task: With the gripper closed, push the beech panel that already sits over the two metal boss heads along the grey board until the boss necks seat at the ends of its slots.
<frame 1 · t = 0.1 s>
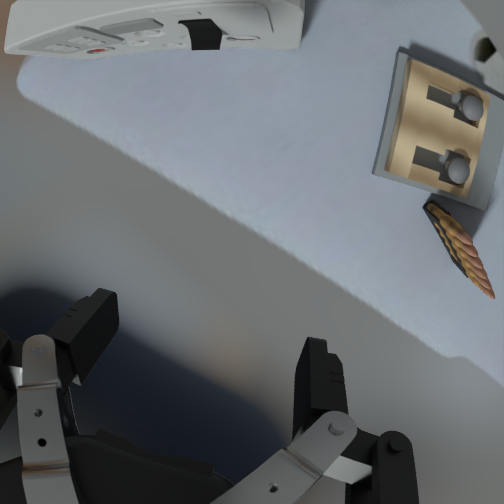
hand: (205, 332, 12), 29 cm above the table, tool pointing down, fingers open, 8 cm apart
beech panel: (441, 129, 31), point 2 cm above the table, slide at 0.0 cm
ammunition clip: (443, 231, 38), on the table
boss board: (447, 134, 33), on the table
rounded white slab: (184, 31, 32), on the table
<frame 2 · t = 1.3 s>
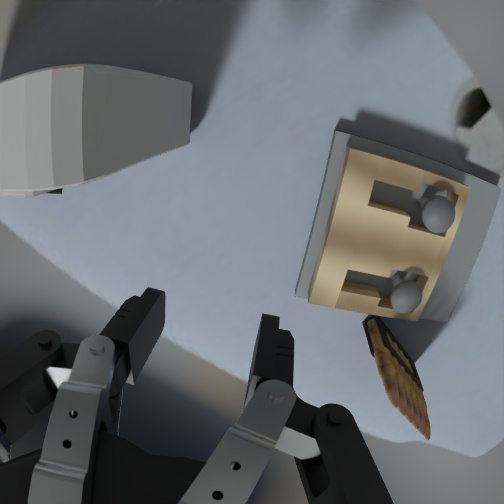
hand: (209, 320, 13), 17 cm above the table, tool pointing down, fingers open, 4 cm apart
beech panel: (389, 242, 26), point 3 cm above the table, slide at 0.0 cm
ammunition clip: (390, 343, 34), on the table
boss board: (402, 236, 28), on the table
rounded white slab: (72, 119, 27), on the table
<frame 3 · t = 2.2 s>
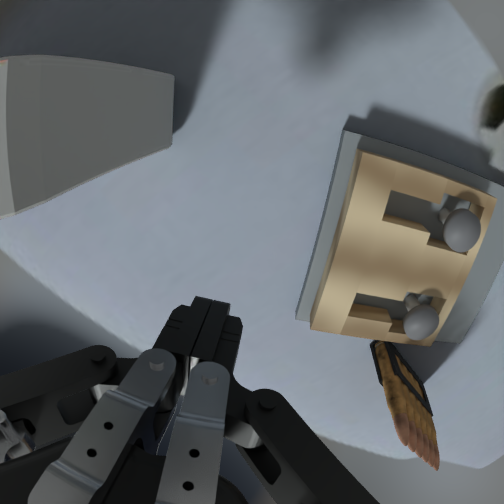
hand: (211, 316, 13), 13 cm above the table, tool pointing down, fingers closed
beech panel: (404, 260, 22), point 2 cm above the table, slide at 0.0 cm
ammunition clip: (398, 365, 30), on the table
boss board: (418, 252, 24), on the table
rounded white slab: (46, 120, 23), on the table
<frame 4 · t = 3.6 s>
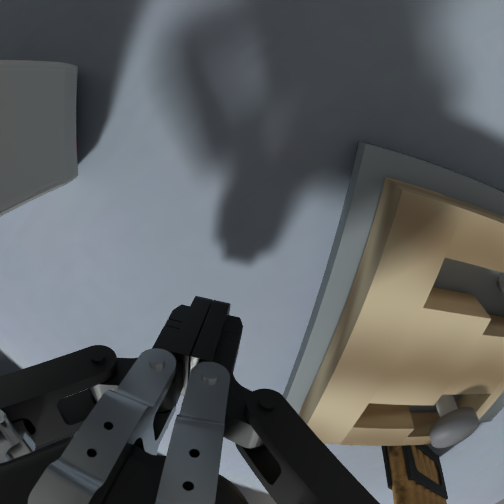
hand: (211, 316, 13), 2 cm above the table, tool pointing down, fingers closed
beech panel: (444, 352, 13), point 2 cm above the table, slide at 0.0 cm
ammunition clip: (413, 444, 21), on the table
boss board: (459, 327, 15), on the table
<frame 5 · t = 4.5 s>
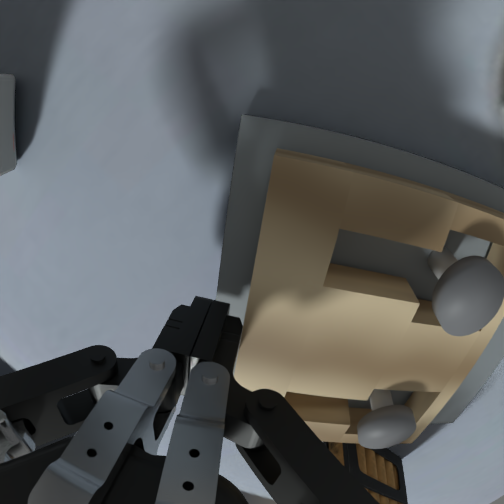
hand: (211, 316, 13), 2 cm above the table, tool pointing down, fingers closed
beech panel: (372, 341, 13), point 2 cm above the table, slide at 0.5 cm, touching gripper
ammunition clip: (367, 443, 21), on the table
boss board: (393, 314, 15), on the table
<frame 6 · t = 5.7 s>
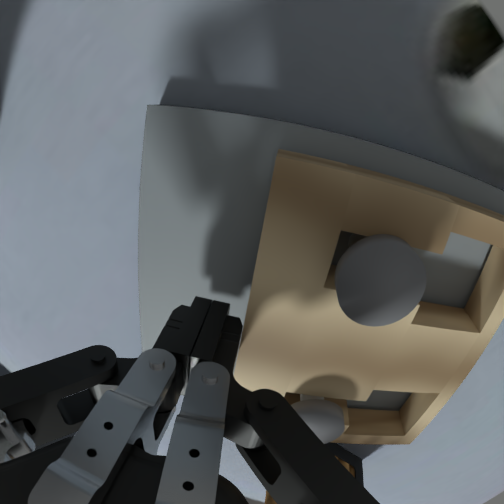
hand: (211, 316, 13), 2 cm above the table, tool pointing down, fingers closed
beech panel: (372, 343, 13), point 3 cm above the table, slide at 4.4 cm, touching gripper
ammunition clip: (320, 441, 21), on the table
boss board: (323, 303, 15), on the table
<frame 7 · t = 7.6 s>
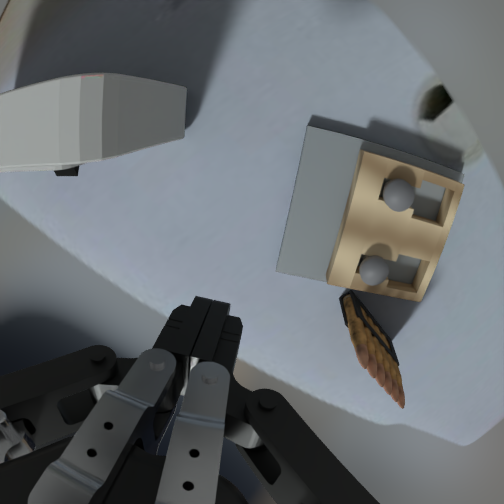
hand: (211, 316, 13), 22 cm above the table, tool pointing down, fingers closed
beech panel: (396, 231, 30), point 3 cm above the table, slide at 4.4 cm
ammunition clip: (367, 320, 38), on the table
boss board: (371, 218, 33), on the table
rounded white slab: (83, 117, 32), on the table
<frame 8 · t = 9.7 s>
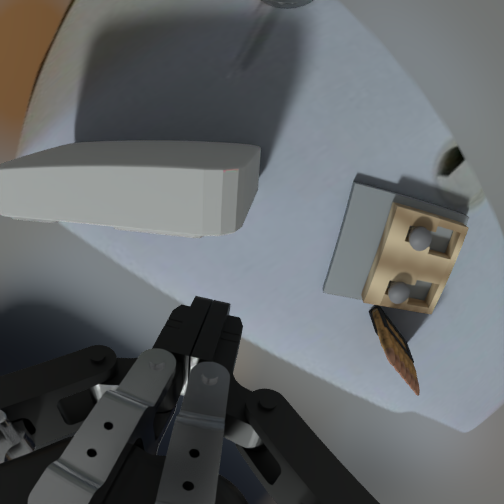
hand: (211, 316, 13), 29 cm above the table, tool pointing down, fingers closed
beech panel: (415, 262, 39), point 2 cm above the table, slide at 4.4 cm
ammunition clip: (388, 327, 47), on the table
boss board: (397, 251, 41), on the table
rounded white slab: (155, 159, 40), on the table
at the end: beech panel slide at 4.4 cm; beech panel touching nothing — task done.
